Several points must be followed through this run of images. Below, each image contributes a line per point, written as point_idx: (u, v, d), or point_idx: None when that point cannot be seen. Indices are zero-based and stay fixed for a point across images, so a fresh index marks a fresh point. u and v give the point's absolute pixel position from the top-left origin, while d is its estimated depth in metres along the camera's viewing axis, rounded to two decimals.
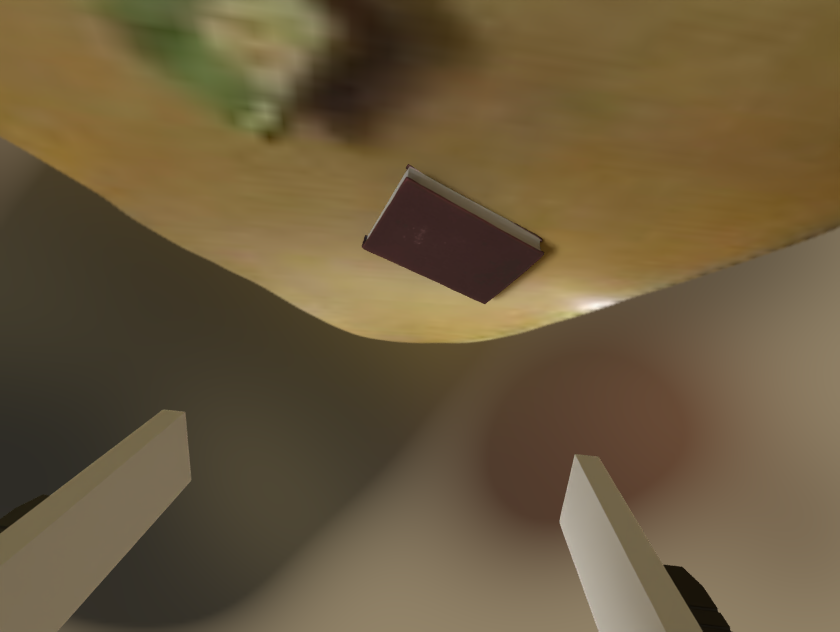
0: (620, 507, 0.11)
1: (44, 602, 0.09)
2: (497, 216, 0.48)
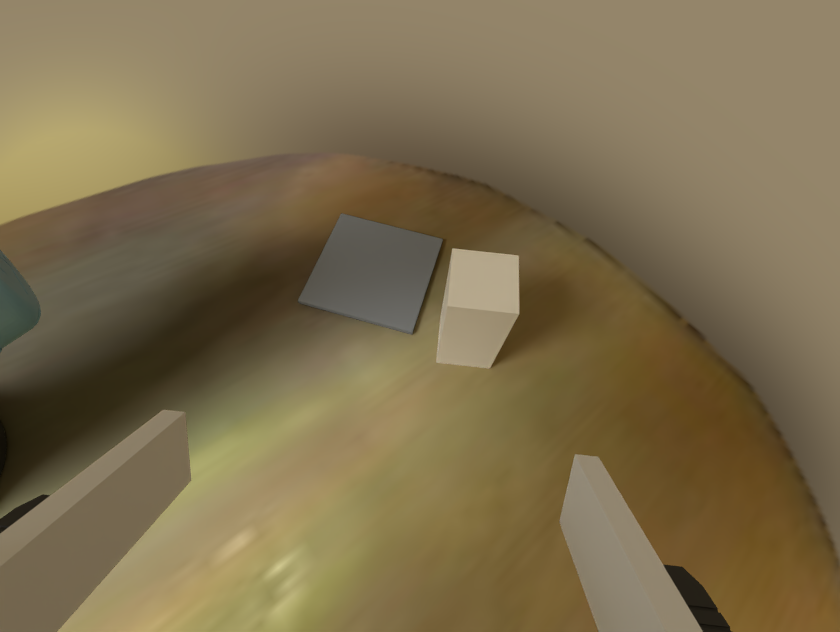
0: (620, 507, 0.11)
1: (44, 602, 0.09)
2: None
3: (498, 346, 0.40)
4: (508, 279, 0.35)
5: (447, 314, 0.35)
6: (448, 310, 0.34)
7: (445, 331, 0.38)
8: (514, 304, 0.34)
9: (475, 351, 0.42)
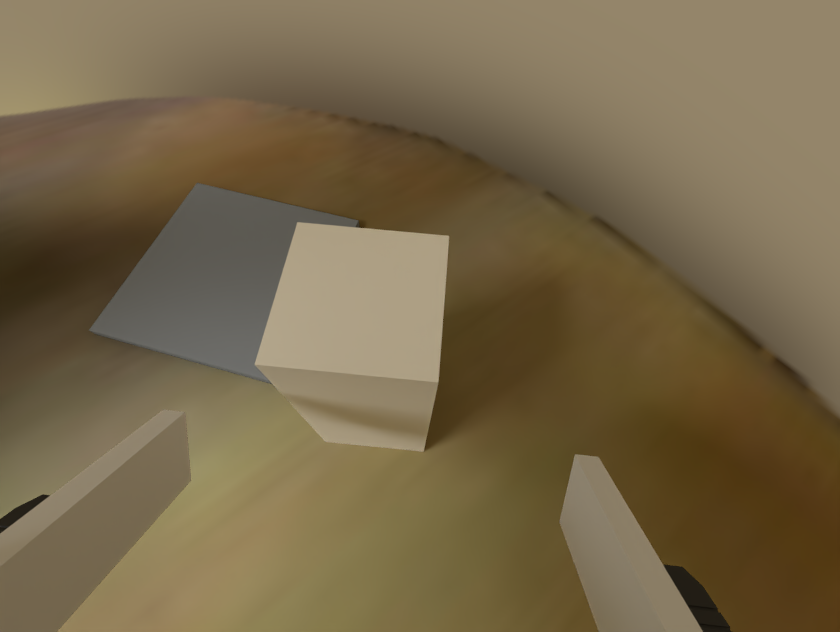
0: (620, 507, 0.11)
1: (44, 602, 0.09)
2: None
3: (422, 428, 0.19)
4: (419, 291, 0.15)
5: (272, 379, 0.14)
6: (266, 372, 0.14)
7: (297, 406, 0.18)
8: (429, 356, 0.13)
9: (383, 433, 0.21)
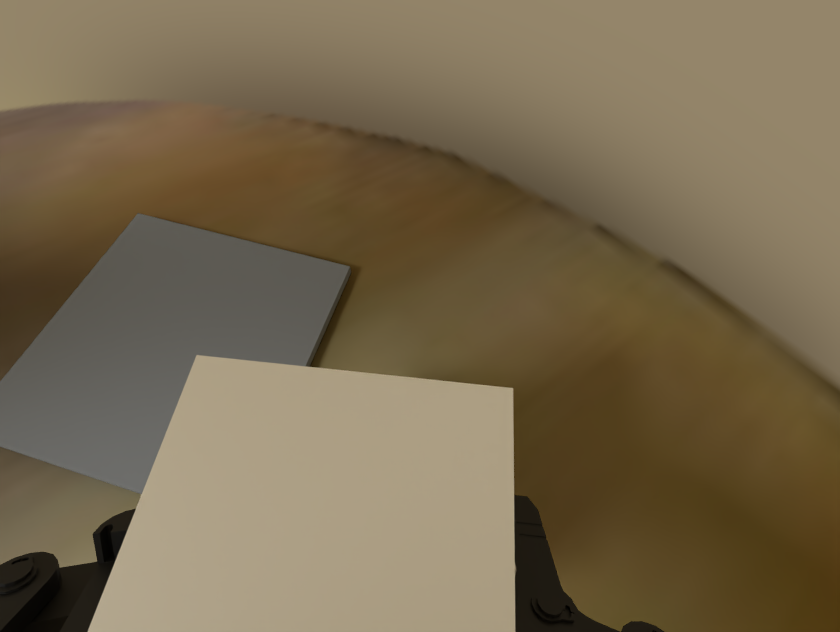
0: None
1: None
2: None
3: None
4: (456, 546, 0.06)
5: None
6: None
7: None
8: None
9: None
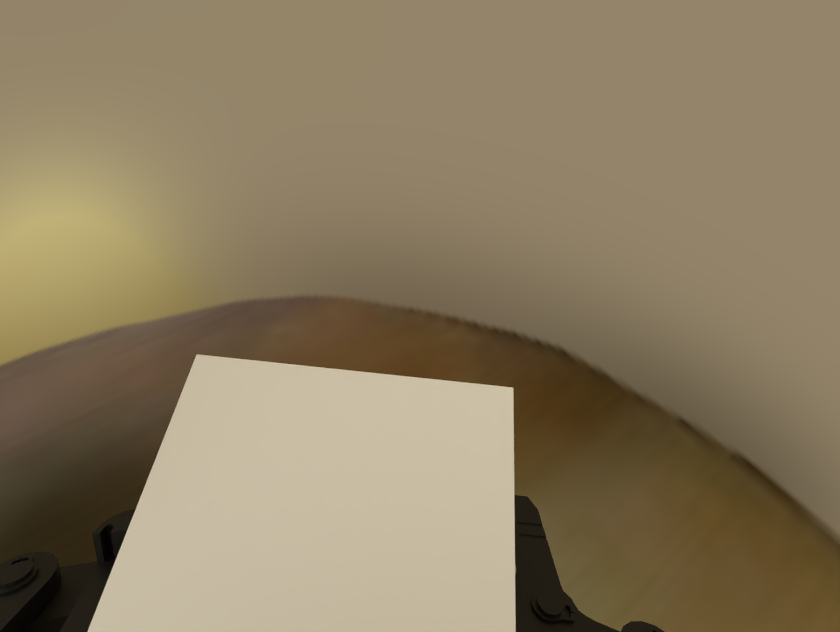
0: None
1: None
2: None
3: None
4: (456, 545, 0.06)
5: None
6: None
7: None
8: None
9: None
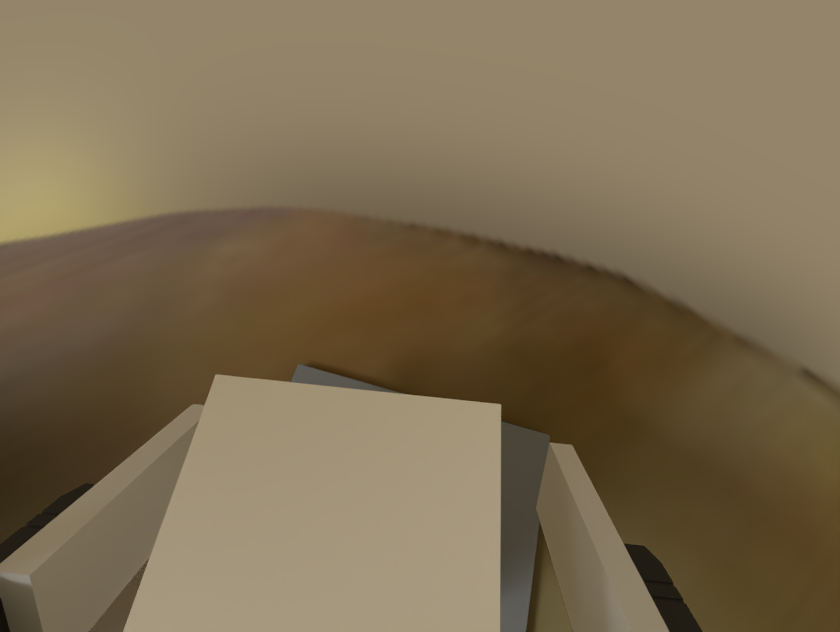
0: (588, 491, 0.11)
1: (95, 583, 0.09)
2: None
3: None
4: (448, 547, 0.07)
5: None
6: None
7: None
8: None
9: None
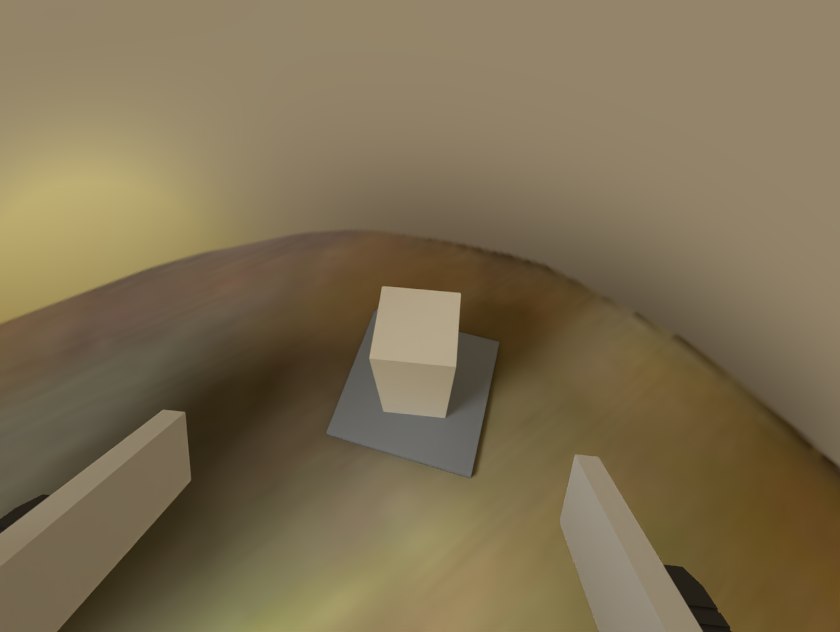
0: (620, 507, 0.11)
1: (44, 602, 0.09)
2: None
3: (445, 398, 0.34)
4: (446, 322, 0.29)
5: (373, 366, 0.29)
6: (372, 362, 0.29)
7: (378, 383, 0.32)
8: (451, 354, 0.28)
9: (422, 402, 0.35)
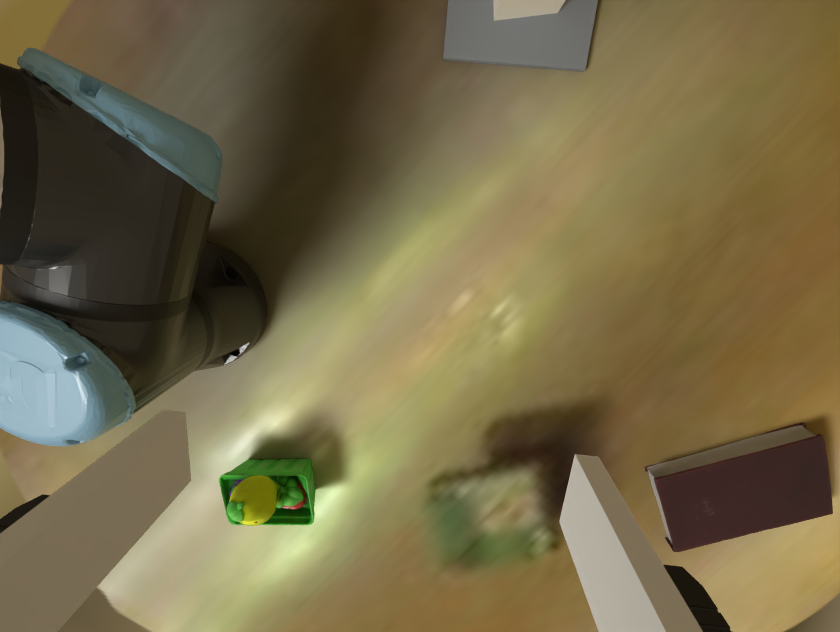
0: (620, 507, 0.11)
1: (44, 602, 0.09)
2: (745, 441, 0.50)
3: None
4: None
5: None
6: None
7: None
8: None
9: None
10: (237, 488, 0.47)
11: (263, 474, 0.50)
